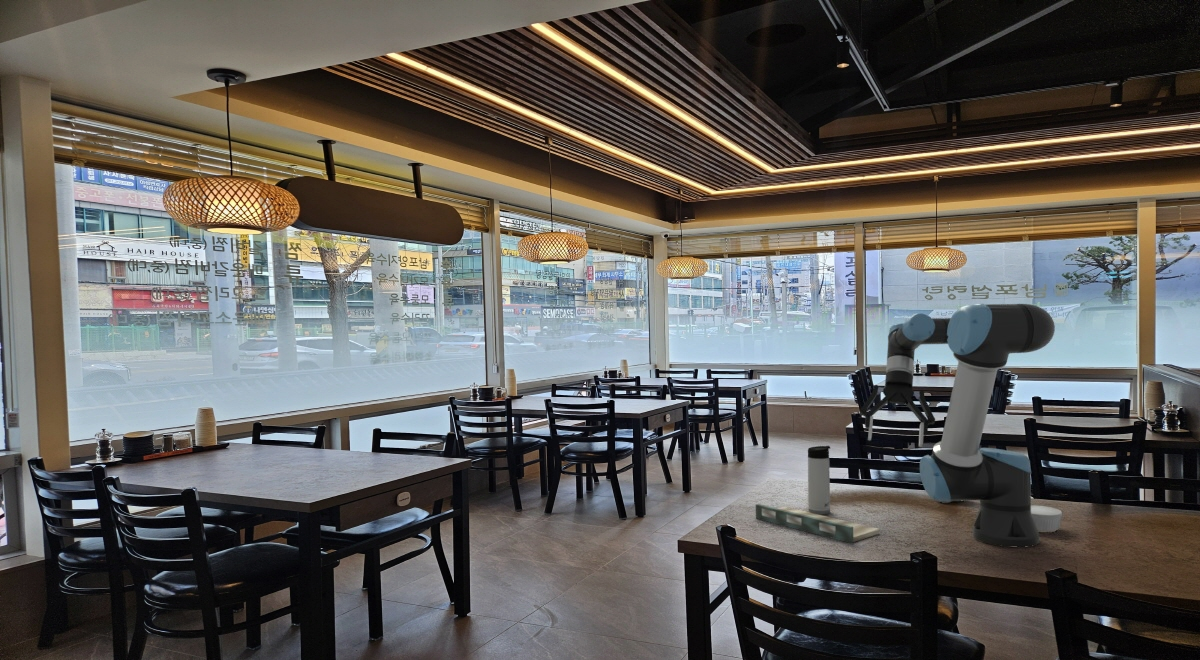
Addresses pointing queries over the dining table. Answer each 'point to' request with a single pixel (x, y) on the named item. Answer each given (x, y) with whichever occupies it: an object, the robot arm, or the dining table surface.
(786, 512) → the shelf
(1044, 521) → the ramekin
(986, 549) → the dining table surface
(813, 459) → the travel mug
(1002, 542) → the robot arm
